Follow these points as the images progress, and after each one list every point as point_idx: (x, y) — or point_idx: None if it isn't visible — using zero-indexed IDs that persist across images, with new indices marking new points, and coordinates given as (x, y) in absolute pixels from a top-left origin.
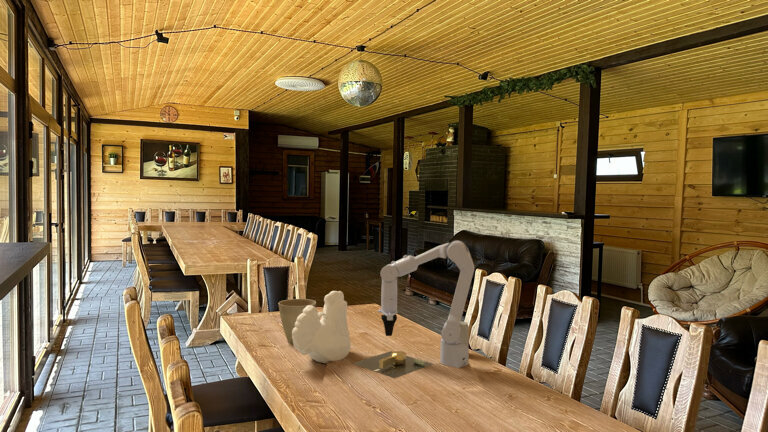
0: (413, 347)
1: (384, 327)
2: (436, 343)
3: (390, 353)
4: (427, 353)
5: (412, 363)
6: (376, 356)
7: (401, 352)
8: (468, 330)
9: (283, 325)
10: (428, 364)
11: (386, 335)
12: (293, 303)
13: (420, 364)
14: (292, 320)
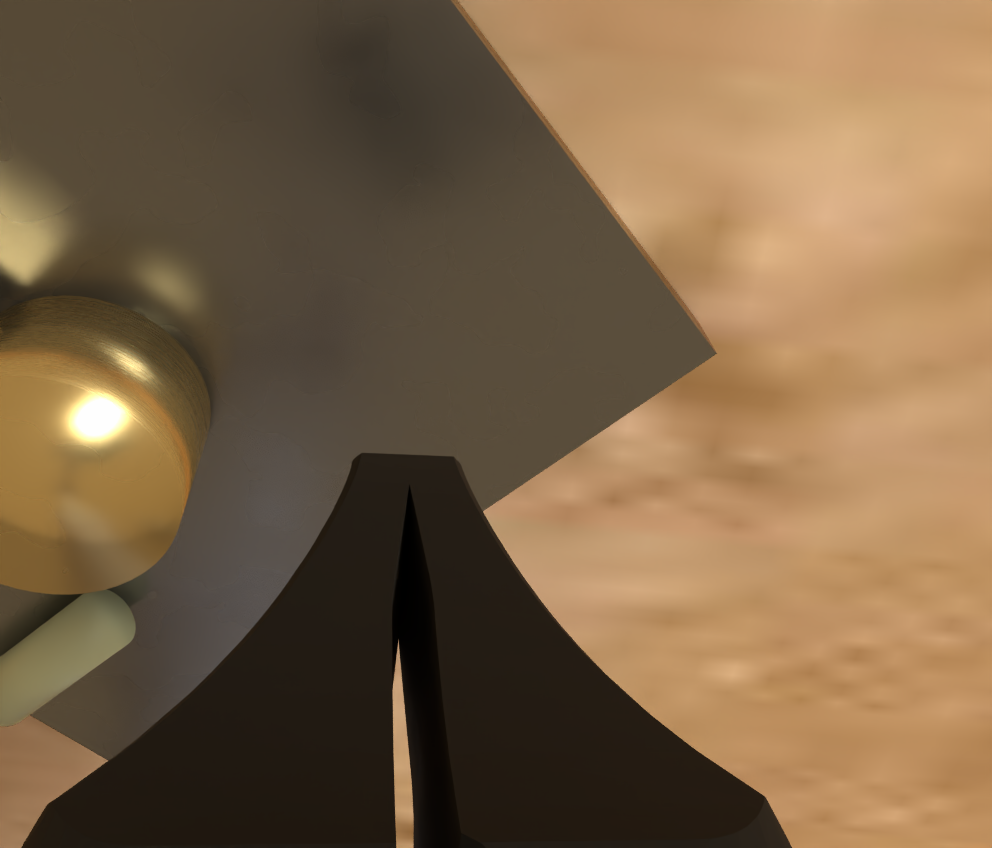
0: (940, 619)
1: (365, 576)
2: (986, 820)
3: (589, 330)
4: (669, 721)
5: None
6: (446, 61)
7: (101, 538)
8: None
9: None
10: (85, 720)
11: (350, 470)
12: None
13: (3, 655)
14: None
